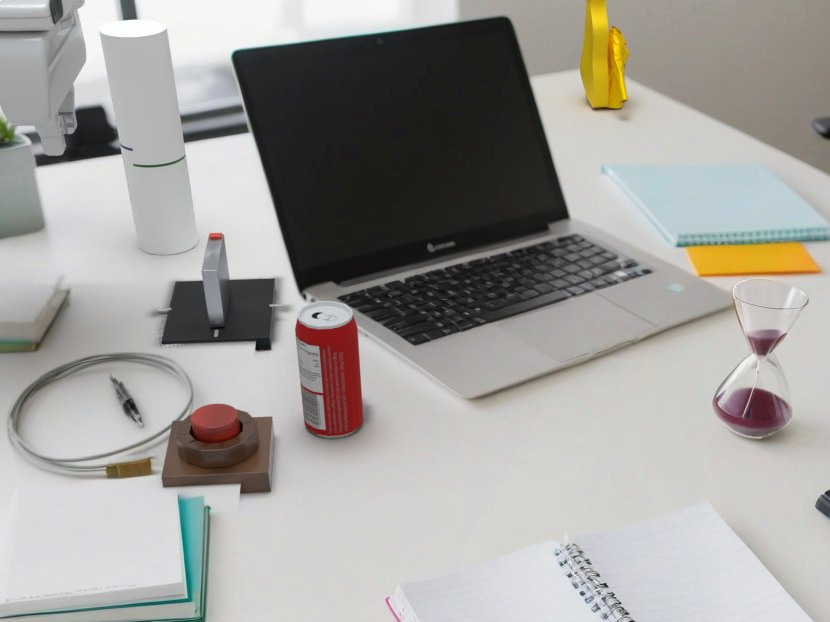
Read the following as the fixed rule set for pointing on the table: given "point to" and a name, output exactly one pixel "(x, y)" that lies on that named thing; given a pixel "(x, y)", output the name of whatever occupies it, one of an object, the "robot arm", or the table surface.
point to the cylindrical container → (150, 134)
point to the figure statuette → (603, 59)
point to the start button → (215, 423)
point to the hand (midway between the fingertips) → (61, 142)
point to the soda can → (329, 368)
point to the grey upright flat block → (216, 280)
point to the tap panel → (244, 315)
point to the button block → (222, 456)
